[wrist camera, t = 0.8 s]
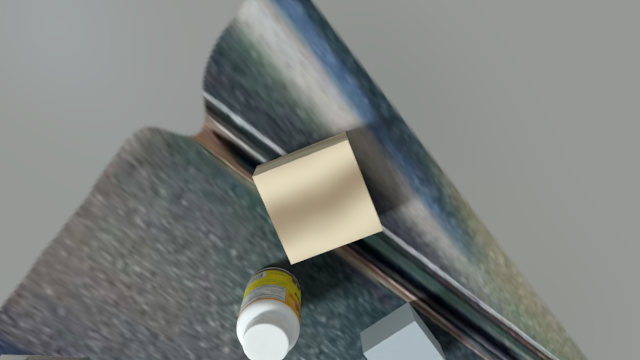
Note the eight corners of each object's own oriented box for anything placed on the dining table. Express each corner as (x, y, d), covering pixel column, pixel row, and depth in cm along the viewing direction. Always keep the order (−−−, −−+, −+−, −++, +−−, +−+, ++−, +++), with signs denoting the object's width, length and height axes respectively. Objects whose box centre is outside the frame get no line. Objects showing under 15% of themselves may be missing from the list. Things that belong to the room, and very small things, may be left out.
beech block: (378, 216, 55) (383, 230, 51) (292, 248, 56) (291, 264, 52) (345, 131, 52) (347, 139, 49) (256, 166, 53) (252, 176, 49)
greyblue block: (439, 343, 59) (448, 365, 55) (391, 372, 60) (397, 396, 56) (408, 301, 57) (414, 320, 54) (359, 331, 58) (363, 353, 54)
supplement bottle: (296, 318, 58) (292, 379, 48) (242, 310, 57) (227, 368, 47) (306, 269, 56) (304, 321, 46) (251, 260, 56) (237, 310, 46)
